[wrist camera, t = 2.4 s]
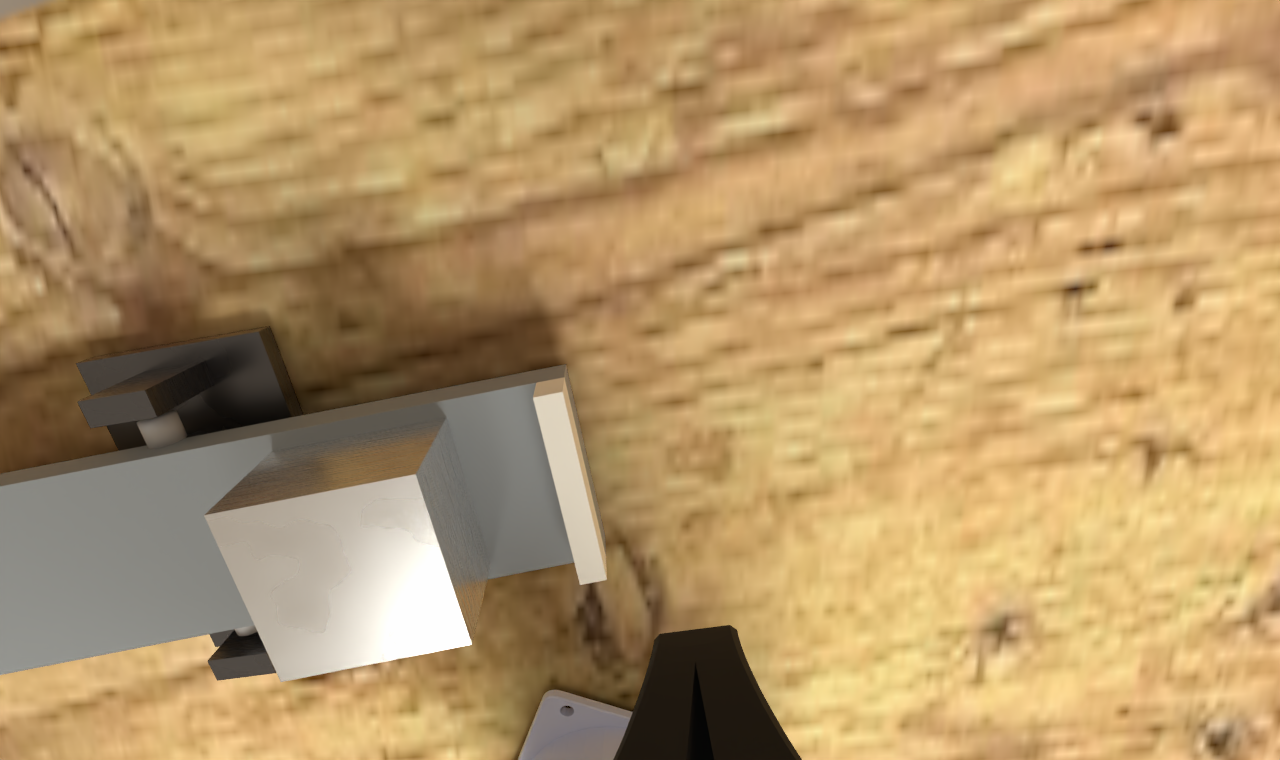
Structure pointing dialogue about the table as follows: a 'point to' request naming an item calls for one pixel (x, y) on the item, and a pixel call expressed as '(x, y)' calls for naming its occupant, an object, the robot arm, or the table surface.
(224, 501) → the steel weight
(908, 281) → the table surface
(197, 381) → the pivot stand
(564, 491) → the seesaw beam
